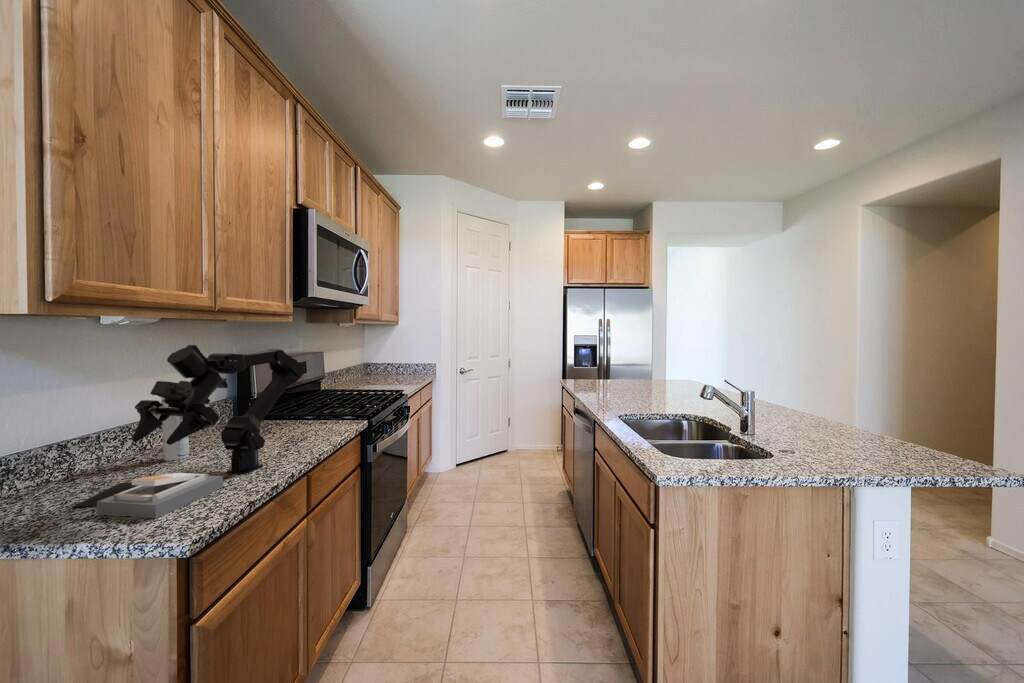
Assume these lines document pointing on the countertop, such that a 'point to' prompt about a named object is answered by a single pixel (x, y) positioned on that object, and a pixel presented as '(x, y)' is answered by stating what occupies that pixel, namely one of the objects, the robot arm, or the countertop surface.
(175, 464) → the countertop surface
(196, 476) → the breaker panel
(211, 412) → the robot arm
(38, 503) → the countertop surface
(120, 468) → the countertop surface
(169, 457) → the spray can
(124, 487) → the smartphone
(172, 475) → the rocker switch
